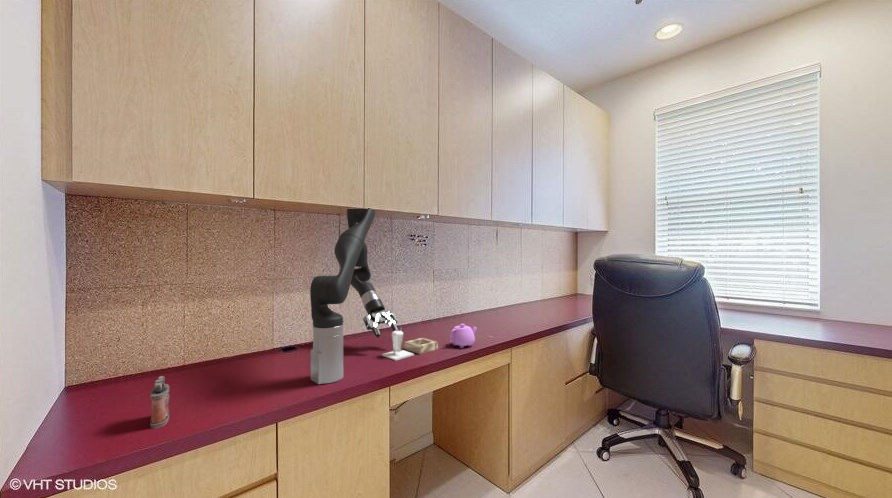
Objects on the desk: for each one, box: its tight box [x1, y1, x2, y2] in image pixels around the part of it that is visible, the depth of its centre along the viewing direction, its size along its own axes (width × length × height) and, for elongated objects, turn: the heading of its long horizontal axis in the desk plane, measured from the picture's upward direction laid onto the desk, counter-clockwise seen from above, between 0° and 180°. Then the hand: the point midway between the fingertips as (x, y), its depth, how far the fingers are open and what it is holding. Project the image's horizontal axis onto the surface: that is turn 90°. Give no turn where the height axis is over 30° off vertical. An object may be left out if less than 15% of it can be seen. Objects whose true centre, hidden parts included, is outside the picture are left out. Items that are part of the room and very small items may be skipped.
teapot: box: [449, 323, 478, 349], centre depth 144 cm, size 10×15×9 cm
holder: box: [403, 337, 439, 355], centre depth 138 cm, size 10×10×3 cm
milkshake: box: [391, 326, 404, 355], centre depth 130 cm, size 4×5×10 cm
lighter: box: [149, 375, 170, 429], centre depth 80 cm, size 8×3×10 cm, turn 35°
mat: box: [381, 349, 415, 362], centre depth 130 cm, size 9×9×1 cm
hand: (387, 334), depth 135 cm, fingers open, 8 cm apart
